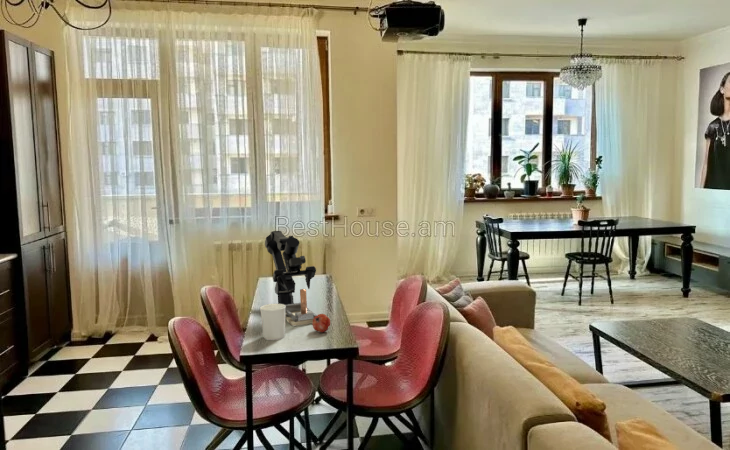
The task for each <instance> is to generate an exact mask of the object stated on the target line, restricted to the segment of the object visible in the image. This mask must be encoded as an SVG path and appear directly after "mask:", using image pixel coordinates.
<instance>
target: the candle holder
mask: <svg viewBox="0 0 730 450" xmlns="http://www.w3.org/2000/svg"><path fill="white" fill-rule="evenodd" d="M285 308H286V306H285V305H284V304H278V303H268V304H263V305H262V306H260V307H259V311H260V318H261V328H262V335H263V339H264V340H266V341H277V340H282V339H284V338H285V337H286V319H285Z"/></svg>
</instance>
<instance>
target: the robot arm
mask: <svg viewBox="0 0 730 450" xmlns="http://www.w3.org/2000/svg"><path fill="white" fill-rule="evenodd" d="M264 246H265V247H264V248H266V250H267V252H268V253H269V254H270V255H271V256H272V259H273V260H272V261H273V263H274V267H275V270H274V271H273V274H272V281H273V282H274V283H275V286H274V293H275V294H276V295H277V304H284V305H287V304H295V302H294V295H293V294H294V293H295V292H296V282H295V280H294V277H298V276H304V277H305V282H306V286H307V289H308V290H310V289H311V280H312V279H313V278H314V277H315V275H316V273H317V267H315V266H314V265H309V266H305V269H303V270H301V269H302V265H304V264H305V263H306V257H305V255H301V256H299V257H297V255H296V254H297V253H298V250H299V246H300V241H299V239H298V238H297V237H294V235H288V236H286V235H285V234H283V232H282V231H281V230H273V231H271V232H270V234H269V235H267V236H266V238H265V240H264Z"/></svg>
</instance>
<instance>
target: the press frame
mask: <svg viewBox="0 0 730 450" xmlns="http://www.w3.org/2000/svg"><path fill="white" fill-rule="evenodd" d="M285 306H286V308H285V321H287V323H289V325H291V327H295V326H302V325H308V324H309V325H310V324H312V323H313V319H309V320H302V321H297V318H296V317H295V313H297V312H301V302H296V303H295V302H294V304H287V305H285ZM307 311H312V310H311V309H310V308H308V307H307ZM317 315H318V314H316V313H314V312H313V318H314V317H316V316H317Z"/></svg>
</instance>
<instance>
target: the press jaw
mask: <svg viewBox="0 0 730 450" xmlns="http://www.w3.org/2000/svg"><path fill="white" fill-rule="evenodd" d="M299 294H300V295H299V298H300V303H301V312H297V313H295V317H296V318H297V321H302V320H309V319H314V318H313V313H314V312H313V311H312V310H311V311H307V308H308V303H307V302H308V300H307V289H306V288H301V289H299Z"/></svg>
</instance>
